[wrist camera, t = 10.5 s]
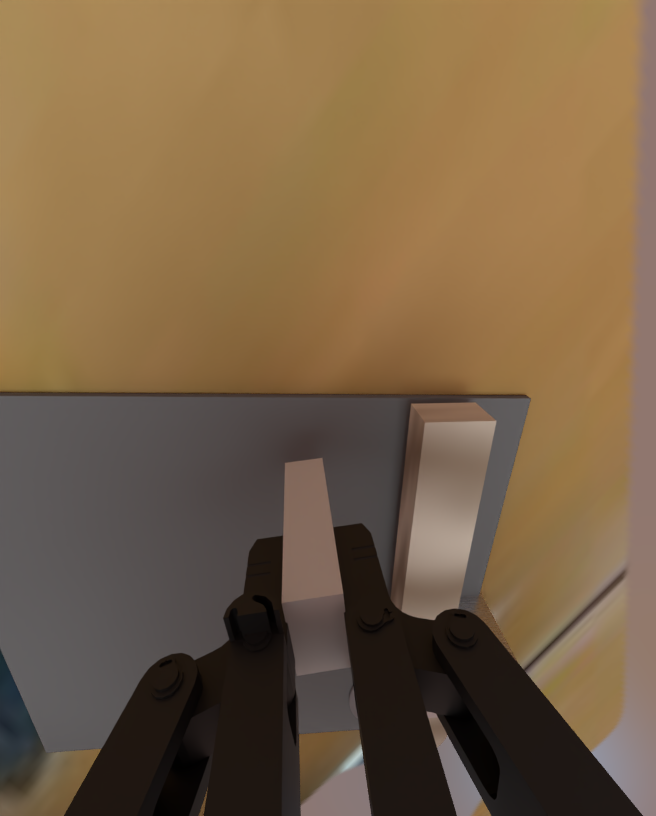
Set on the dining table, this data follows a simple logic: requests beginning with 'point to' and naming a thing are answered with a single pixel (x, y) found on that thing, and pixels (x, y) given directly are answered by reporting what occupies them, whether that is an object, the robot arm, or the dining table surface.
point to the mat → (184, 530)
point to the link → (439, 509)
